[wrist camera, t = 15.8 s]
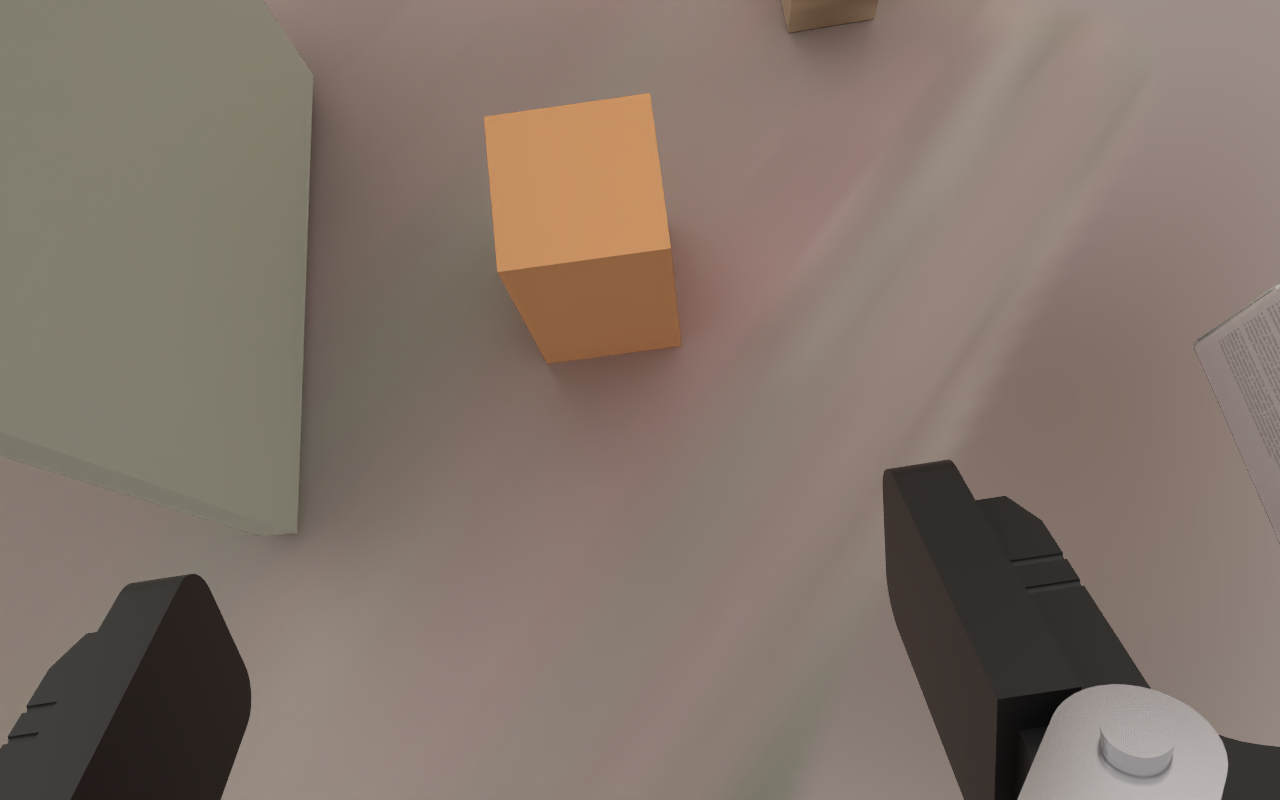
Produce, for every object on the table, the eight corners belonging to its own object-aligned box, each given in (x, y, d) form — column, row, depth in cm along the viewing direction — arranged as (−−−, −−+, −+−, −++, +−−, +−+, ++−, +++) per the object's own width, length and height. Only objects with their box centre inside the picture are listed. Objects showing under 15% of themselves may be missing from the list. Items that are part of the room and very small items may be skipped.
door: (246, 80, 37) (-98, -356, 21) (313, 74, 36) (15, -368, 21) (221, 538, 32) (-231, 411, 17) (297, 533, 32) (-88, 401, 17)
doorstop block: (547, 364, 34) (497, 272, 26) (535, 239, 35) (484, 117, 27) (681, 345, 34) (671, 248, 26) (665, 221, 35) (649, 92, 27)
